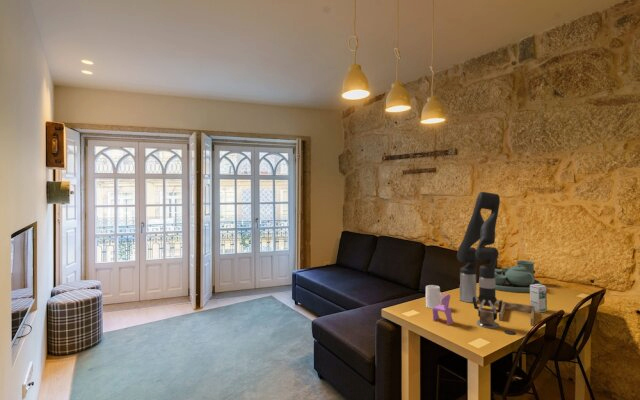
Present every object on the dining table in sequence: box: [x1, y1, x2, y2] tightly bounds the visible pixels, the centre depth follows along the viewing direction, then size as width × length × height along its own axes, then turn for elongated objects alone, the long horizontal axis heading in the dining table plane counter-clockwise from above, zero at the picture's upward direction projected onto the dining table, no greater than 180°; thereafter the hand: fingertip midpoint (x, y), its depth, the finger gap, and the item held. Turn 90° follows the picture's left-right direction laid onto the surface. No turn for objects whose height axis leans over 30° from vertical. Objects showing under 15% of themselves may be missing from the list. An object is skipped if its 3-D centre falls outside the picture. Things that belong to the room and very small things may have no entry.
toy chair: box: [432, 293, 454, 326], centre depth 181 cm, size 8×9×15 cm
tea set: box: [495, 259, 543, 293], centre depth 249 cm, size 40×40×16 cm
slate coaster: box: [476, 319, 499, 329], centre depth 176 cm, size 10×10×1 cm
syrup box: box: [529, 284, 548, 313], centre depth 195 cm, size 6×6×14 cm
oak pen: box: [498, 301, 536, 327], centre depth 187 cm, size 15×23×4 cm, turn 147°
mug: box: [424, 284, 445, 310], centre depth 203 cm, size 8×12×12 cm
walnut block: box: [479, 307, 495, 325], centre depth 174 cm, size 6×6×6 cm
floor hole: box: [503, 329, 517, 336], centre depth 165 cm, size 5×5×1 cm
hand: (487, 318), depth 176 cm, fingers closed on walnut block, 6 cm apart
